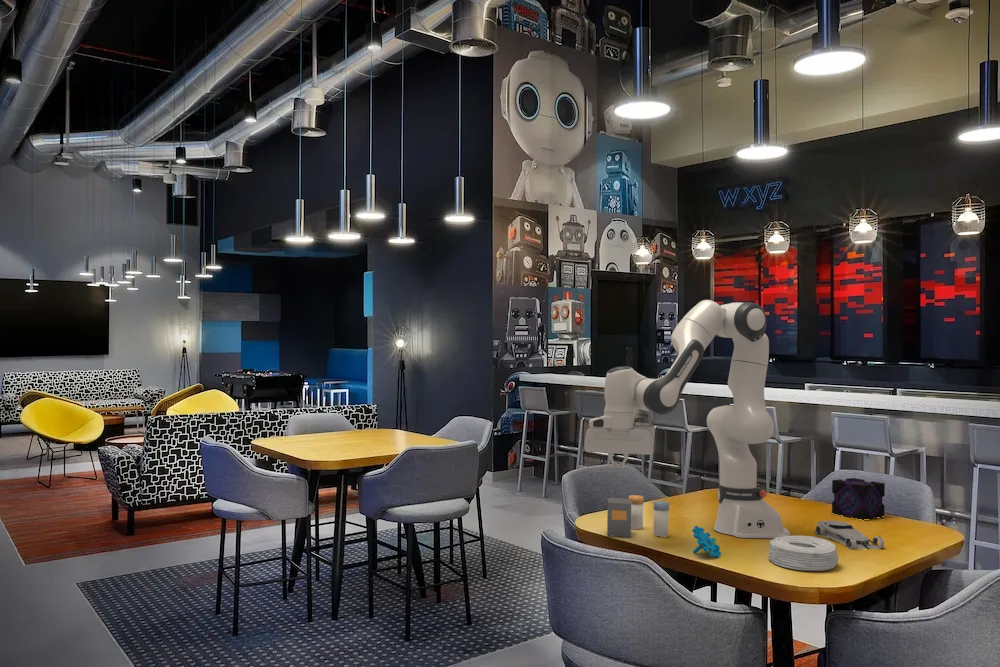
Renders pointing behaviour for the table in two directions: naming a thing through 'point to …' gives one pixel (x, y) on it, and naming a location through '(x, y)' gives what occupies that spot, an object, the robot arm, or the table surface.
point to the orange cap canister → (636, 511)
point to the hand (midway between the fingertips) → (618, 468)
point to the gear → (705, 542)
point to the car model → (847, 535)
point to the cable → (803, 553)
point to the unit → (619, 517)
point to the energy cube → (858, 498)
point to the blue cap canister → (661, 518)
